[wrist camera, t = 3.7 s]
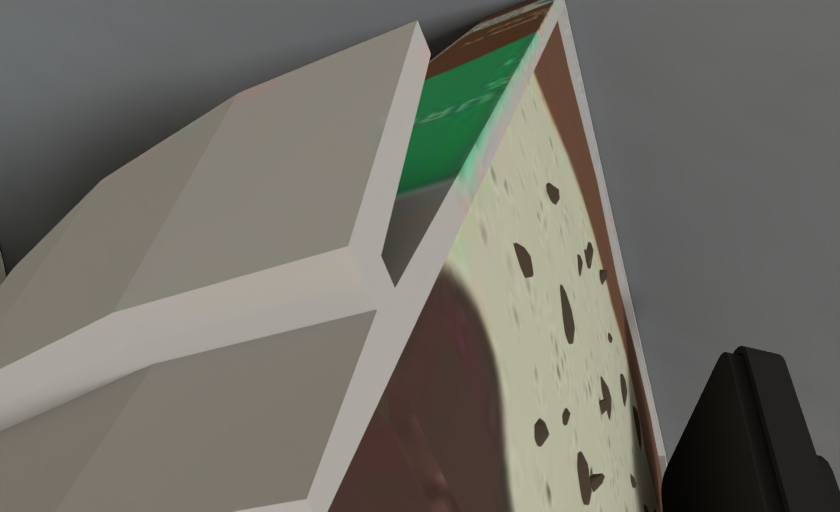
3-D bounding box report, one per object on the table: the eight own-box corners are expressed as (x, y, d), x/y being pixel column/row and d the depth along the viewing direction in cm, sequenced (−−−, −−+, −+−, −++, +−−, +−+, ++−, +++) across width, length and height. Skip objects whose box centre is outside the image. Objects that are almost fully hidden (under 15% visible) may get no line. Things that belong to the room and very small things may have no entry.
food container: (162, 6, 12) (-920, 502, 3) (537, -125, 10) (195, 295, 1) (406, 520, 17) (233, 1193, 9) (677, 505, 15) (784, 1358, 7)
